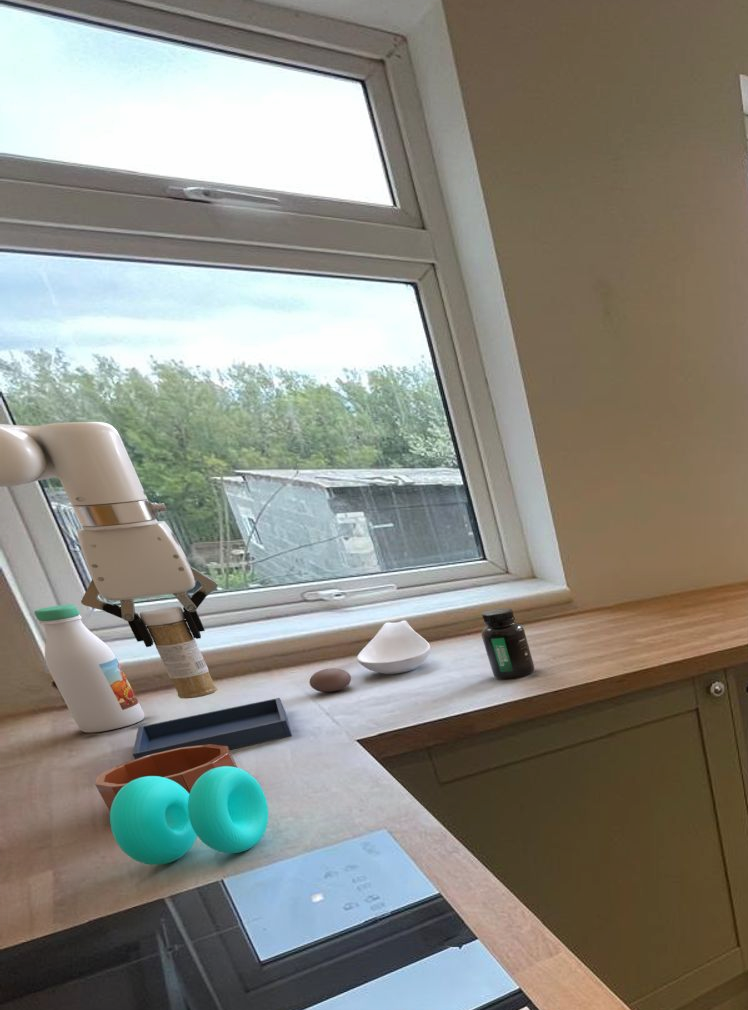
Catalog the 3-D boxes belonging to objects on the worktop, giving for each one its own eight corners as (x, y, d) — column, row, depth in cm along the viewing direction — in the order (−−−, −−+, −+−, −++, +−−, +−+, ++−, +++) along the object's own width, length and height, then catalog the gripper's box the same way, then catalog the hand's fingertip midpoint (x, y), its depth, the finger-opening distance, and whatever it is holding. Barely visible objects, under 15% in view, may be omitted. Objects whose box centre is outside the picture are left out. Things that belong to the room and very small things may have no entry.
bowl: (110, 832, 99) (91, 795, 97) (118, 799, 108) (100, 765, 106) (244, 797, 107) (229, 763, 105) (241, 769, 116) (227, 737, 114)
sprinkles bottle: (198, 690, 126) (159, 605, 121) (226, 689, 126) (189, 604, 121) (170, 700, 122) (129, 613, 117) (199, 699, 122) (159, 612, 117)
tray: (140, 770, 117) (132, 754, 116) (145, 742, 127) (138, 726, 126) (292, 735, 127) (285, 720, 126) (285, 711, 138) (279, 697, 137)
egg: (306, 694, 146) (297, 673, 144) (341, 683, 151) (333, 663, 149) (327, 697, 144) (319, 676, 142) (362, 686, 149) (354, 665, 147)
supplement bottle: (513, 681, 148) (494, 617, 143) (485, 678, 150) (466, 615, 145) (543, 669, 154) (526, 607, 149) (516, 667, 156) (498, 606, 151)
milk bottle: (113, 733, 131) (51, 612, 123) (67, 734, 132) (2, 614, 124) (159, 715, 138) (103, 600, 131) (115, 716, 139) (57, 602, 131)
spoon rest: (434, 672, 155) (422, 635, 153) (359, 684, 150) (346, 647, 147) (439, 643, 174) (429, 611, 171) (373, 653, 169) (361, 620, 166)
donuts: (240, 866, 90) (201, 787, 86) (130, 884, 88) (86, 802, 84) (284, 825, 99) (251, 751, 95) (186, 839, 97) (148, 764, 93)
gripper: (197, 506, 121) (247, 624, 129) (32, 521, 111) (96, 649, 118) (197, 510, 116) (249, 633, 123) (24, 526, 106) (91, 659, 113)
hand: (173, 639), depth 121 cm, fingers closed on sprinkles bottle, 4 cm apart
